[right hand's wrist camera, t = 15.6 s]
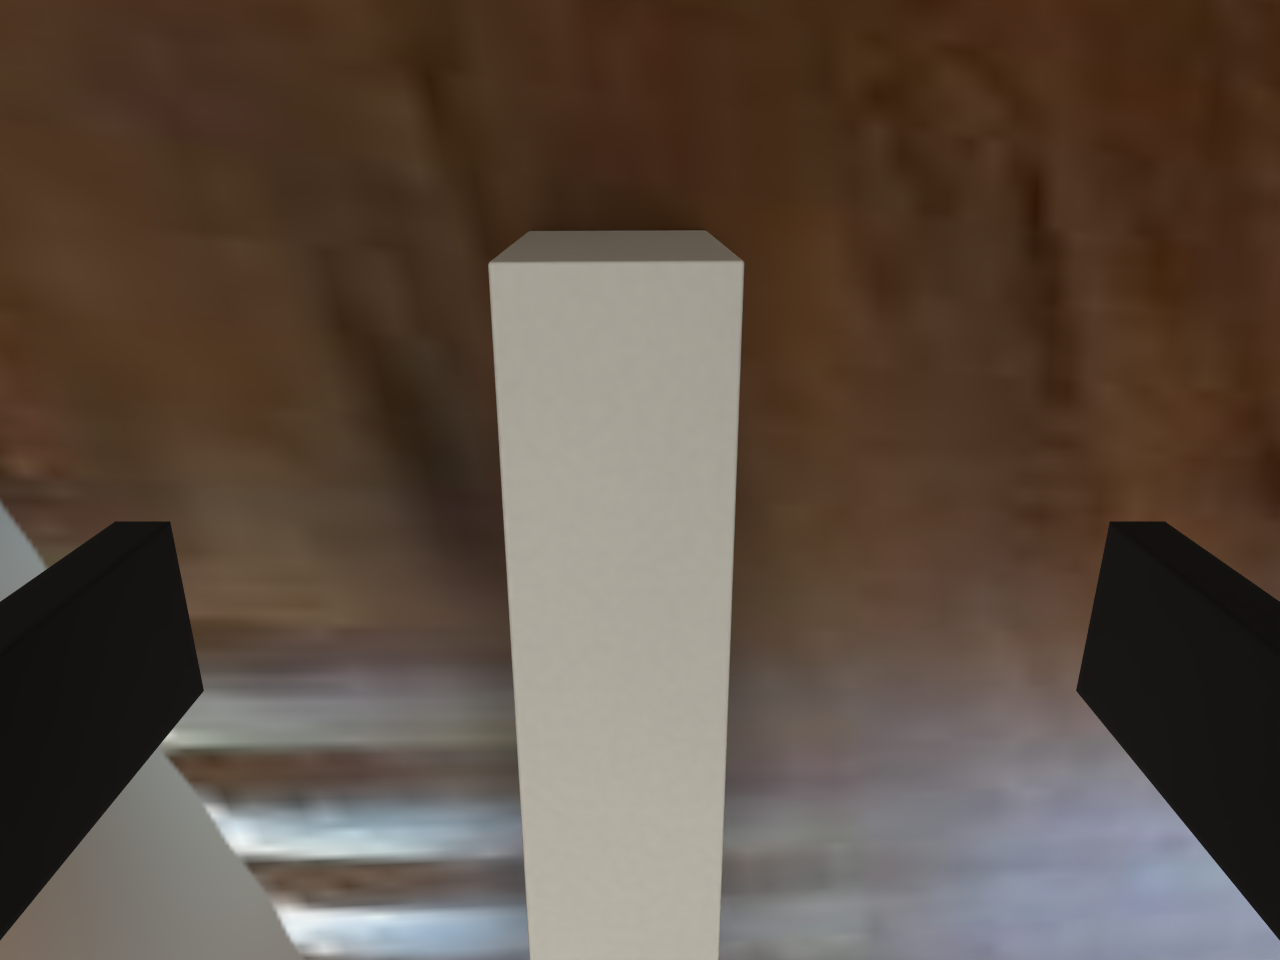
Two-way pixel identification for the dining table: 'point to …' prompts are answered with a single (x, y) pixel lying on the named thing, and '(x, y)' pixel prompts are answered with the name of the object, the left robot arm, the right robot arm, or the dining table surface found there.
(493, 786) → the dining table surface
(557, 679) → the bar
